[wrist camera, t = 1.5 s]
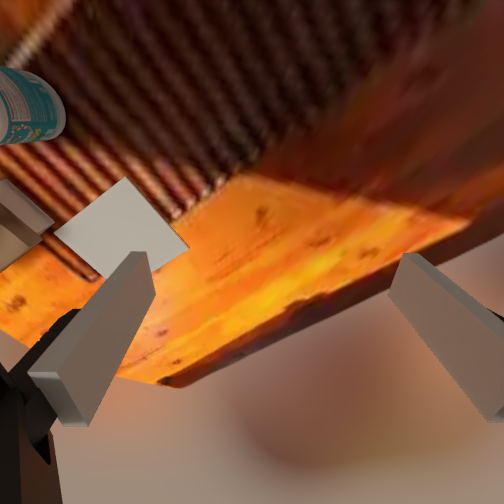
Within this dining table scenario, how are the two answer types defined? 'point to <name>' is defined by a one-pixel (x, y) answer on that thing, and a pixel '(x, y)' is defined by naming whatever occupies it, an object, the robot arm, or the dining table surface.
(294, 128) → the dining table surface
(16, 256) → the cover
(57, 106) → the pill bottle
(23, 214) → the dish
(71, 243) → the mat
